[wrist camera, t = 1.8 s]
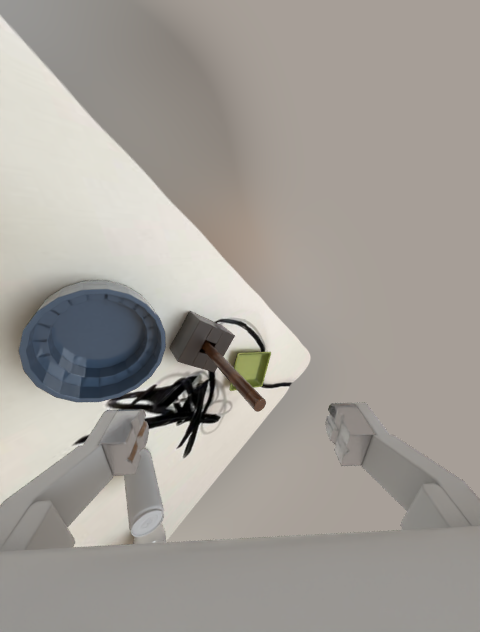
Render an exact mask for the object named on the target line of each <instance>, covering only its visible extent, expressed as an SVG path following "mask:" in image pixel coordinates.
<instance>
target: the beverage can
mask: <svg viewBox="0 0 480 632" xmlns="http://www.w3.org/2000/svg"><path fill="white" fill-rule="evenodd" d="M140 454H141V460H140V463H139V465H138V468H137V471H136V474H130V475H124V480H125V489H126V499H127V509H128V519H129V529H130V531H131V534H132V536H134V537H142V536H145V535H147V534H149V533H151V532H152V531H154V530H155V529H156V528H157V527H158V526H159V525H160V524H161V522H162V520H163V518H164V514H163V505H162V500H161V496H160V492H159V487H158V483H157V479H156V474H155V470H154V466H153V461H152V457H151V453H150V451H149V450H147V449H144V448H143V449H142V450H141V451H140Z"/></svg>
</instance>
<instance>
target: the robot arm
mask: <svg viewBox="0 0 480 632" xmlns="http://www.w3.org/2000/svg"><path fill="white" fill-rule="evenodd" d="M328 410H329V412H330V415H329V416H328V417H327V419H326V431H327V434H328V437H329V439H330V441H332V442H333V443H334V444H335V449H334V451H335V453H336V455H337V457H338V460H339V461H340V464H341V465H342V466H352V465H354V466H357V465H358V466H359V465H362V467H363V468H364V469H365V470H366V471H367V472H368V473H369V474H370V475H371V476H372V477H373V478H374V479H375V480H376V481H377V482H378V483H379V484H380V485H381V486H382V487H383V488H384V489H385V490H386V491H387V492H388V493H389V494H390V495H391V496H392V497H393V498H394V499H395V500H397V502H398V503H399V504H400V505H401V506H403V507H404V508H405V510H407V513H406V514H405V516H404V518H403V520H402V522H401V527H402V529H403V530H392V531H372V532H354V533H336V534H335V533H334V534H315V535H296V536H277V537H259V538H240V539H220V540H202V541H183V542H164V543H145V544H127V545H108V546H89V547H73V546H74V544H75V540H74V537H73V536H72V534H71V532H70V531H69V529H68V528H67V527H68V526H69V525H70V524H71V523H72V522H73V521H74V520H75V519H76V517H77V516H78V515H79V514H80V513H81V512H82V511H83V510H84V509H85V508H86V506H87V505H88V504H89V503H90V502H91V501H92V500H93V499H94V498H95V497H96V496H97V494H98V493H99V492H100V491H101V490H102V489H103V488H104V487H105V486H106V485H107V483H108V482H109V481H110V480H111V479H112V478H113V476H116V475H130V474H136V471H137V468H138V465H139V463H140V460H141V454H140V451H141V450H142V449H143V448H144V447H145V446H146V443H147V440H148V434H149V427H148V423H147V422H146V421H144V419H145V417H146V414H145V411H144V410H107V411H105V412H104V413H103V414H102V416H101V418H100V419H99V421H98V422H97V424H96V426H95V427H94V429H93V430H92V432H91V434H90V435H89V437H88V438H87V440H86V441H85V443H84V445H83V446H78V447H77V448H75V449H74V450H73V451H71V452H70V453H69V454H67V455H66V456H65V457H63V458H62V459H60V460H59V461H58V462H56V463H55V464H54V465H52V466H51V467H50V468H48V469H47V470H46V471H44V472H43V473H41V474H40V475H39V476H37V477H36V478H35V479H33V480H32V481H31V482H29V483H28V484H27V485H25V486H24V487H22V488H21V489H20V490H18V491H17V492H16V493H14V494H13V495H12V496H10V497H9V498H8V499H6V500H5V501H4V502H3V503H2V504H1V506H0V632H480V499H479V498H478V497H477V496H476V494H475V493H474V492H473V491H472V490H471V489H470V488H469V486H468V485H467V484H466V483H465V482H464V481H463V480H461V479H460V478H459V477H457V476H456V475H454V474H452V473H451V472H449V471H448V470H446V469H445V468H443V467H442V466H440V465H439V464H437V463H436V462H434V461H433V460H431V459H429V458H428V457H426V456H425V455H423V454H422V453H420V452H419V451H417V450H416V449H414V448H413V447H411V446H410V445H408V444H407V443H405V442H404V441H402V440H401V439H399V438H398V437H396V436H395V435H389V433H388V432H387V430H386V429H385V428H384V426H383V425H382V424H381V422H380V421H379V420H378V418H377V417H376V415H375V414H374V412H373V411H372V410H371V408H370V407H369V406H368V404H366V403H365V402H362V403H335V404H331V405H330V406H329V409H328Z"/></svg>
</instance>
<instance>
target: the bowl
mask: <svg viewBox="0 0 480 632" xmlns="http://www.w3.org/2000/svg"><path fill="white" fill-rule="evenodd" d="M165 347H166V344H165V330H164V328H163V326H162V323H161V321H160V318H159V316H158V315H157V314H156V312H155V311H154V309H153V308H152V306H151V305H150V304H149V303H148V302H147V301H146V299H145V298H144V297H143V296H142V295H141V294H139V293H138V292H136V291H134V290H133V289H131V288H129V287H127V286H125V285H122V284H118V283H114V282H110V281H106V280H104V281H83V282H79V283H76V284H73V285H69V286H66V287H63V288H62V289H60V290H59V291H57V292H56V293H54V294H53V295H51V296H50V297H48V298H47V299H46V300H45V301H44V303H43V304H42V305H41V307H40V308H39V309H38V311H37V312H36V313H35V315H34V316H33V317H32V319H31V320H30V321H29V323H28V324H27V326H26V327H25V328H24V330H23V333H22V338H21V342H20V347H19V354H20V358H21V362H22V366H23V370H24V372H25V373H26V374H27V375H28V377H29V378H30V379H31V380H32V381H33V383H34V384H35V385H36V386H37V387H39V388H40V389H42V390H44V391H46V392H47V393H49V394H51V395H53V396H54V397H56V398H61V399H65V400H69V401H74V402H101V401H105V400H109V399H113V398H117V397H120V396H122V395H124V394H126V393H128V392H130V391H132V390H134V389H136V388H138V387H139V386H140V385H141V384H143V383H144V382H145V381H146V380H147V379H149V378H150V377H151V376H152V375H153V373H154V372H155V370H156V369H157V367H158V366H159V365H160V363H161V360H162V357H163V354H164V351H165Z"/></svg>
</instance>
